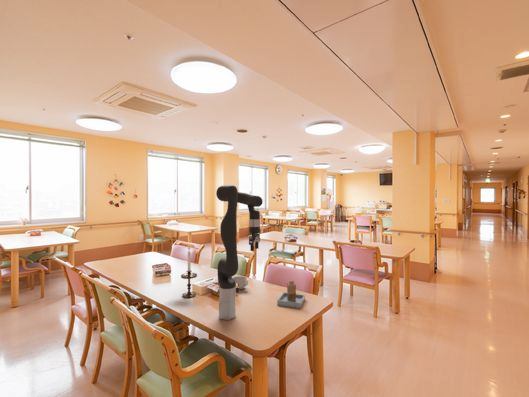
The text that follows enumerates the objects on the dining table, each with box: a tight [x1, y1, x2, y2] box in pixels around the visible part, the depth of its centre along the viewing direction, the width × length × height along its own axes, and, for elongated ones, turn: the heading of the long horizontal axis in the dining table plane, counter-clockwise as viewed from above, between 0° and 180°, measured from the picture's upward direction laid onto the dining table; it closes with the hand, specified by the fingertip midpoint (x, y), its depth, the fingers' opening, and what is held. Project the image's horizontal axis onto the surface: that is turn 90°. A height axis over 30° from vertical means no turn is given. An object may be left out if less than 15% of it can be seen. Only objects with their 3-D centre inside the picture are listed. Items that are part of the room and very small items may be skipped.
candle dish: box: [276, 291, 306, 309], centre depth 173 cm, size 15×15×3 cm
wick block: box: [286, 280, 297, 302], centre depth 173 cm, size 4×4×13 cm
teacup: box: [232, 275, 249, 290], centre depth 198 cm, size 14×11×8 cm
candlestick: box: [180, 246, 198, 299], centre depth 184 cm, size 11×11×35 cm
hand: (254, 249), depth 179 cm, fingers open, 8 cm apart
